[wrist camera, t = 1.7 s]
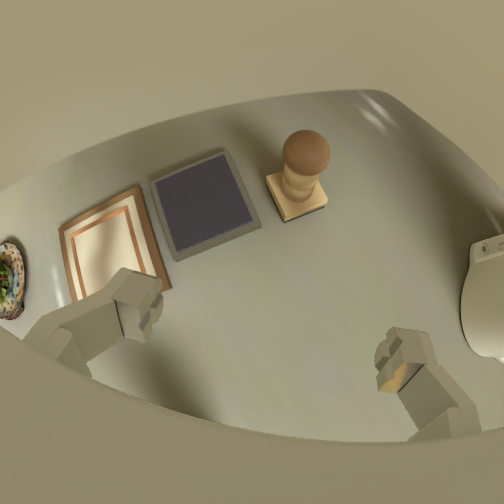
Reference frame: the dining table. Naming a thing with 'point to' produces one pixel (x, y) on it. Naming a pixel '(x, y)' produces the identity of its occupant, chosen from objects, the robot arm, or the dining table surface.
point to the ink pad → (203, 205)
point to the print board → (110, 244)
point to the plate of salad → (11, 281)
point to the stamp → (300, 176)
